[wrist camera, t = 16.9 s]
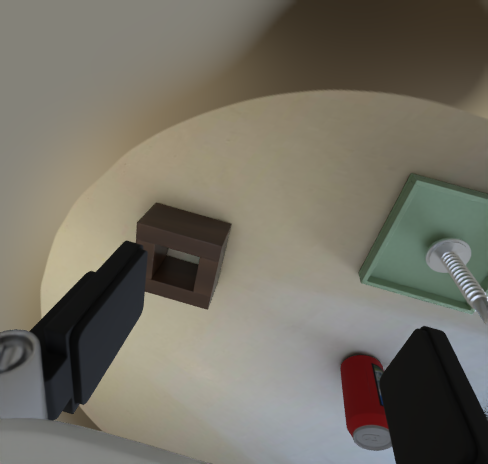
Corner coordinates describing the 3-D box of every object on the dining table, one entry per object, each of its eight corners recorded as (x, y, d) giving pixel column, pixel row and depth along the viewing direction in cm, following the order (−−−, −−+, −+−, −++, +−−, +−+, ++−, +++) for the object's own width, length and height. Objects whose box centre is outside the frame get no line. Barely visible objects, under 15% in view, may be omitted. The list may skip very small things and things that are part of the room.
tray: (411, 172, 37) (416, 179, 35) (540, 208, 37) (553, 217, 35) (358, 272, 45) (360, 283, 43) (464, 303, 45) (472, 314, 43)
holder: (156, 202, 45) (136, 222, 40) (231, 223, 45) (222, 246, 40) (150, 263, 51) (133, 288, 45) (217, 283, 50) (207, 309, 45)
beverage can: (380, 379, 55) (397, 456, 45) (338, 376, 56) (346, 450, 46) (384, 352, 52) (404, 427, 41) (340, 349, 53) (349, 422, 43)
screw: (418, 263, 42) (423, 231, 40) (460, 262, 41) (467, 229, 39) (459, 341, 31) (468, 302, 29) (517, 342, 30) (532, 302, 28)
